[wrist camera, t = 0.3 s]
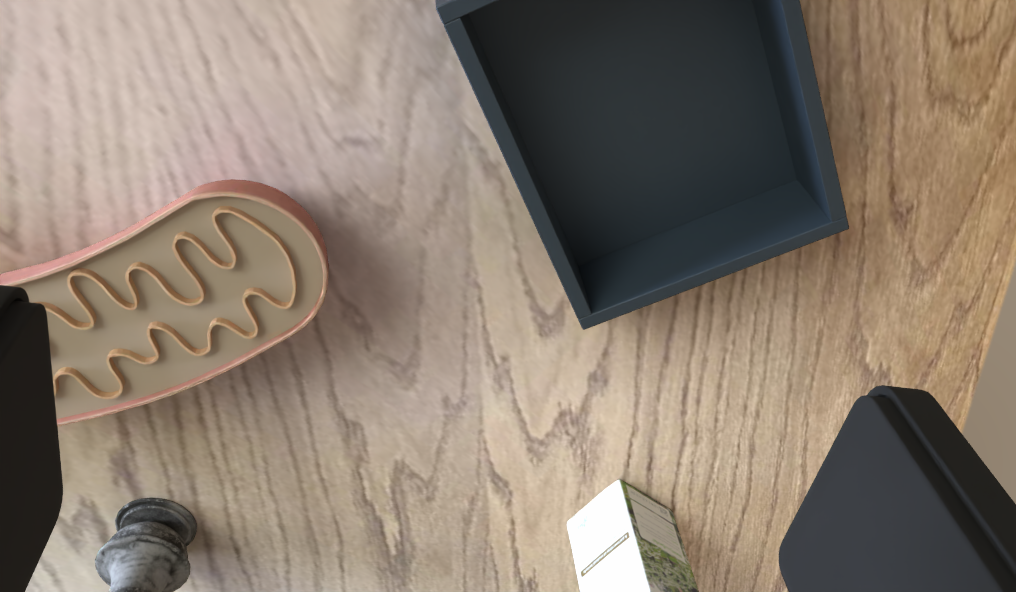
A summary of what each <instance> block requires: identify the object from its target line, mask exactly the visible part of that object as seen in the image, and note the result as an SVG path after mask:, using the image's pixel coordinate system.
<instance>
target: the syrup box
mask: <svg viewBox="0 0 1016 592" xmlns="http://www.w3.org/2000/svg"><path fill="white" fill-rule="evenodd" d="M567 528H568V533H569V538H570V542H571V547H572V552H573V557H574V562H575V567H576V572H577V577H578V583H579V588H580V592H699V591H698V588H697V585H696V582H695V579H694V576H693V573H692V570H691V567H690V563H689V560H688V557H687V554H686V552H685V549H684V545H683V543H682V539H681V537H680V534H679V531H678V527H677V524H676V521H675V518H674V515H673V512H672V510H670V509H669V508H667V507H665V506H664V505H662V504H660V503H658V502H657V501H655V500H653V499H652V498H650V497H648V496H647V495H645V494H644V493H642V492H640V491H639V490H637V489H635V488H634V487H632V486H630V485H629V484H627V483H626V482H624V481H622V480H620V479H619V480H617V481H615V482H614V483H613V484H611V485H610V486H609V487H607V488H606V489H605V490H604V491H602V492H601V493H600V494H599V495H598V496H596V497H595V498H594V499H593V500H592V501H591V502H589V503H588V504H587V505H586V506H585V507H584V508H582V509H581V510H580V511H579V512H578V513H577V514H575V515H574V516H573V517H572V518H571V519H570V520H569V521H568V522H567Z"/></svg>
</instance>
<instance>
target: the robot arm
mask: <svg viewBox="0 0 1016 592" xmlns="http://www.w3.org/2000/svg"><path fill="white" fill-rule="evenodd" d="M62 496H63V483H62V472H61V462H60V451H59V440H58V429H57V418H56V407H55V396H54V385H53V375H52V364H51V353H50V342H49V331H48V320H47V313H46V309H45V307H44V305H42V304H40V303H31V302H29V297H28V295H27V293H26V291H25V290H24V289H23V288H21V287H13V286H5V285H0V592H25V590H26V588H27V586H28V583H29V581H30V579H31V577H32V575H33V572H34V570H35V568H36V566H37V564H38V561H39V559H40V557H41V555H42V553H43V550H44V548H45V546H46V544H47V542H48V539H49V537H50V535H51V533H52V531H53V528H54V526H55V524H56V521H57V519H58V516H59V512H60V509H61V503H62ZM779 566H780V571H781V574H782V577H783V579H784V581H785V584H786V586H787V588H788V591H789V592H1016V504H1015V503H1014V502H1013V500H1012V499H1011V498H1010V497H1009V495H1008V494H1007V493H1006V491H1005V490H1004V489H1003V487H1002V486H1001V485H1000V483H999V482H998V481H997V479H996V478H995V477H994V475H993V474H992V473H991V472H990V470H989V469H988V468H987V466H986V465H985V464H984V462H983V461H982V460H981V459H980V457H979V456H978V455H977V453H976V452H975V451H974V449H973V448H972V447H971V445H970V444H969V443H968V442H967V440H966V439H965V438H964V436H963V435H962V434H961V432H960V431H959V430H958V428H957V427H956V426H955V424H954V423H953V422H952V421H951V419H950V418H949V417H948V415H947V414H946V413H945V411H944V410H943V409H942V407H941V406H940V405H939V403H938V402H937V401H936V400H935V398H934V397H933V396H932V395H931V394H930V393H928V392H926V391H923V390H918V389H910V388H901V387H892V386H883V385H882V386H877V387H875V388H874V389H872V390H871V391H870V392H869V393H868V395H866V396H861V397H860V398H858V399H857V400H856V402H855V403H854V405H853V407H852V409H851V410H850V412H849V414H848V416H847V418H846V420H845V422H844V424H843V426H842V428H841V430H840V432H839V433H838V435H837V437H836V439H835V441H834V443H833V445H832V447H831V449H830V451H829V453H828V455H827V456H826V458H825V460H824V462H823V464H822V466H821V468H820V470H819V472H818V474H817V476H816V478H815V479H814V481H813V483H812V485H811V487H810V489H809V491H808V493H807V495H806V497H805V499H804V501H803V502H802V504H801V506H800V508H799V510H798V512H797V514H796V516H795V518H794V520H793V522H792V524H791V526H790V527H789V529H788V531H787V533H786V535H785V537H784V539H783V541H782V543H781V546H780V550H779Z"/></svg>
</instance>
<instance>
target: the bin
mask: <svg viewBox="0 0 1016 592" xmlns="http://www.w3.org/2000/svg"><path fill="white" fill-rule="evenodd" d="M436 10H437V12H438V14H439V16H440V19H441V21H442V23H443V24H444V27H445V29H446V32H447V34H448V36H449V38H450V40H451V43H452V45H453V47H454V49H455V51H456V54H457V56H458V58H459V60H460V62H461V64H462V67H463V69H464V71H465V73H466V75H467V78H468V80H469V82H470V84H471V86H472V89H473V91H474V93H475V95H476V97H477V99H478V102H479V104H480V106H481V108H482V110H483V113H484V115H485V117H486V119H487V121H488V124H489V126H490V128H491V130H492V132H493V134H494V137H495V139H496V141H497V143H498V145H499V148H500V150H501V152H502V154H503V156H504V158H505V161H506V163H507V165H508V167H509V169H510V172H511V174H512V176H513V178H514V180H515V183H516V185H517V187H518V189H519V191H520V193H521V196H522V198H523V200H524V202H525V204H526V207H527V209H528V211H529V213H530V215H531V218H532V220H533V222H534V224H535V226H536V228H537V231H538V233H539V235H540V237H541V239H542V242H543V244H544V246H545V248H546V250H547V253H548V255H549V257H550V259H551V261H552V263H553V266H554V268H555V270H556V272H557V274H558V277H559V279H560V281H561V283H562V285H563V287H564V290H565V292H566V294H567V296H568V298H569V301H570V303H571V305H572V307H573V309H574V312H575V314H576V316H577V318H578V320H579V322H580V325H581V327H582V329H583V330H585V329H587V328H590V327H592V326H595V325H598V324H600V323H603V322H606V321H608V320H611V319H613V318H616V317H619V316H621V315H624V314H627V313H629V312H632V311H634V310H637V309H640V308H642V307H645V306H648V305H650V304H653V303H655V302H658V301H661V300H663V299H666V298H668V297H671V296H674V295H676V294H679V293H682V292H684V291H687V290H689V289H692V288H695V287H697V286H700V285H703V284H705V283H708V282H710V281H713V280H716V279H718V278H721V277H724V276H726V275H729V274H731V273H734V272H737V271H739V270H742V269H745V268H747V267H750V266H752V265H755V264H758V263H760V262H763V261H766V260H768V259H771V258H773V257H776V256H779V255H781V254H784V253H787V252H789V251H792V250H794V249H797V248H800V247H802V246H805V245H808V244H810V243H813V242H815V241H818V240H821V239H823V238H826V237H829V236H831V235H834V234H836V233H839V232H842V231H844V230H847V229H849V225H848V221H847V217H846V211H845V206H844V202H843V197H842V193H841V188H840V183H839V179H838V174H837V170H836V165H835V161H834V156H833V151H832V147H831V142H830V138H829V133H828V129H827V124H826V119H825V115H824V110H823V106H822V101H821V97H820V92H819V88H818V83H817V78H816V74H815V69H814V65H813V60H812V56H811V51H810V46H809V42H808V37H807V33H806V28H805V24H804V19H803V14H802V10H801V5H800V1H799V0H436Z"/></svg>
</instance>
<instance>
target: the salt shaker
mask: <svg viewBox="0 0 1016 592" xmlns="http://www.w3.org/2000/svg"><path fill="white" fill-rule="evenodd" d="M115 521H116V529H117V531H118V532H117V533H116V534H115V535H114V536H113V537H112V538H111V539H110V540H109V541H108V542H107V543H106V544H105V545H104V546H103V547H102V548H101V549H100V550H99V551H98V554H97V557H96V559H95V564H96V570H97V572H98V574H99V576H100V577H101V578H102V579H103V580H104V581H105V582H106V583H107V584H108V585H110V586H111V587H110V590H109V592H173V591H175V590H177V589H179V588H180V587H181V586H182V585H183V584H184V583H185V582H186V581H187V579H188V577H189V575H190V563H189V561H188V553H187V549H186V546H187V545H189V543H190V542H191V541H192V540H193V539H194V537H195V535H196V529H197V525H196V522H195V519H194V517H193V516H192V515H191V513H190V512H189V511H188V510H186V509H185V508H184V507H182V506H181V505H179V504H177V503H174V502H172V501H169V500H165V499H159V498H145V499H139V500H135V501H132V502H130V503H128V504H127V505H125V506H124V507H123V508H122V509H121V510H120V511H119V512H118V515H117V517H116V520H115Z"/></svg>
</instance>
